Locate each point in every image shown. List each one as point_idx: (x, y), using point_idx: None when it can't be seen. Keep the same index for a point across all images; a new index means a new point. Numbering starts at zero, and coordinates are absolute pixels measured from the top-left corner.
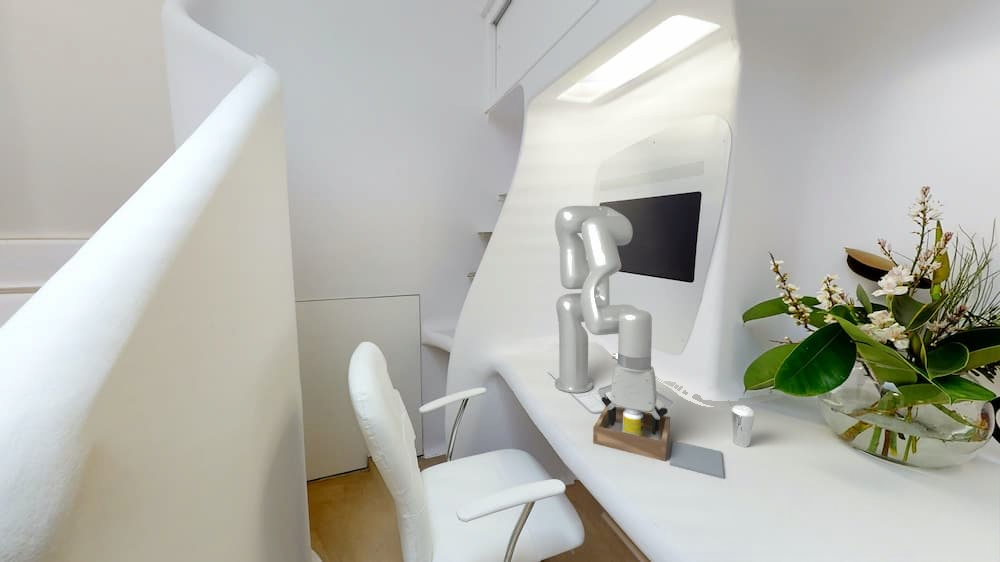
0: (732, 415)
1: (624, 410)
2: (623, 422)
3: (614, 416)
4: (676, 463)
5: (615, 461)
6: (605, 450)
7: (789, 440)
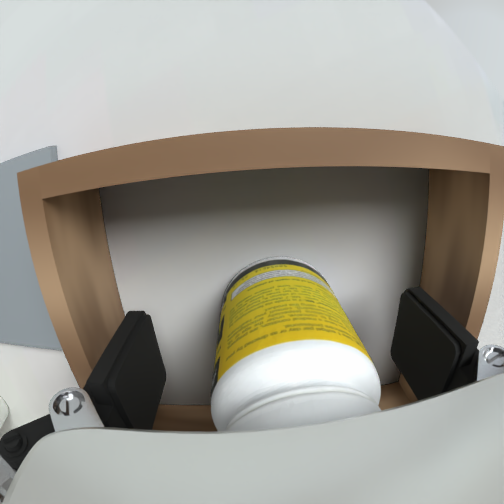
0: None
1: None
2: (353, 329)
3: (422, 345)
4: (29, 159)
5: (302, 20)
6: (379, 96)
7: None
